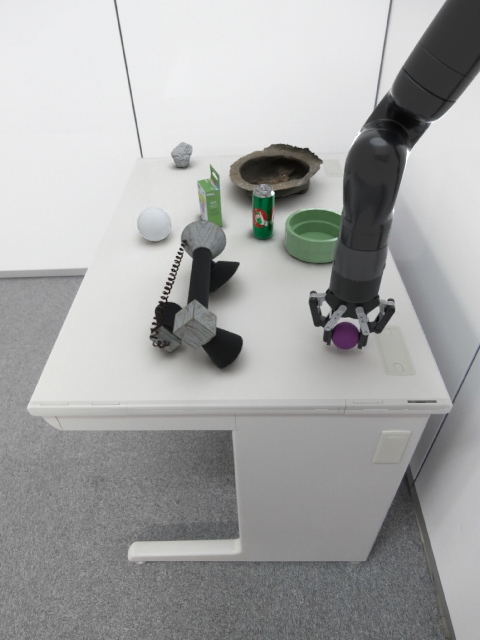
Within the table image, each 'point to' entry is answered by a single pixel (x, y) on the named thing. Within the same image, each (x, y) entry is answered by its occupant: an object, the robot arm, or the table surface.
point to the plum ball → (345, 335)
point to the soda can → (263, 211)
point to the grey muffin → (182, 154)
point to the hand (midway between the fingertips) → (343, 343)
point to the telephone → (198, 298)
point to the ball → (154, 223)
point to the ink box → (210, 198)
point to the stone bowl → (276, 169)
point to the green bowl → (312, 234)
